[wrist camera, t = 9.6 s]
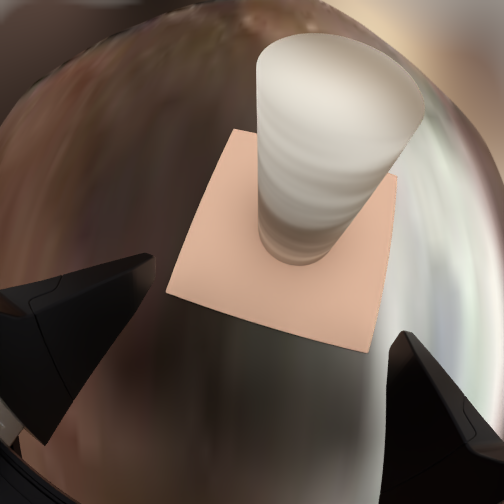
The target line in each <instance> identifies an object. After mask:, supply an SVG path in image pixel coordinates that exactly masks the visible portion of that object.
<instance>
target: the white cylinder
mask: <svg viewBox="0 0 504 504" xmlns="http://www.w3.org/2000/svg"><path fill="white" fill-rule="evenodd" d="M256 81H257V152H258V231H259V236H260V240H261V242H262V244H263V246H264V247H265V249H266V250H267V251H268V252H269V253H270V254H271V255H272V256H273V257H274V258H275V259H277V260H279V261H281V262H283V263H285V264H289V265H294V266H304V265H309V264H312V263H315V262H317V261H319V260H320V259H322V258H323V257H324V256H325V255H326V254H327V253H328V252H329V251H330V250H331V248H332V247H333V246H334V244H335V243H336V242H337V241H338V239H339V238H340V237H341V235H342V234H343V233H344V231H345V230H346V229H347V228H348V226H349V225H350V224H351V222H352V221H353V220H354V218H355V217H356V216H357V214H358V213H359V212H360V210H361V209H362V208H363V206H364V205H365V203H366V202H367V201H368V199H369V198H370V197H371V195H372V194H373V192H374V191H375V190H376V188H377V187H378V186H379V184H380V183H381V181H382V180H383V179H384V177H385V176H386V174H387V173H388V171H389V170H390V169H391V167H392V166H393V164H394V163H395V161H396V160H397V158H398V157H399V155H400V154H401V152H402V151H403V150H404V148H405V147H406V145H407V144H408V142H409V141H410V139H411V138H412V136H413V134H414V133H415V131H416V130H417V128H418V127H419V125H420V124H421V122H422V120H423V117H424V114H425V105H424V99H423V96H422V93H421V91H420V89H419V87H418V86H417V84H416V83H415V81H414V80H413V78H412V77H411V76H410V75H409V74H408V73H407V71H406V70H405V69H404V68H403V67H401V66H400V65H399V64H398V63H397V62H396V61H394V60H393V59H391V58H390V57H389V56H387V55H386V54H384V53H382V52H381V51H379V50H377V49H375V48H373V47H371V46H369V45H367V44H364V43H362V42H359V41H356V40H353V39H350V38H346V37H342V36H337V35H331V34H320V33H308V34H298V35H292V36H289V37H285V38H282V39H280V40H277V41H276V42H274V43H272V44H270V45H269V46H268V47H266V48H265V49H264V51H263V52H262V53H261V54H260V56H259V58H258V61H257V67H256Z"/></svg>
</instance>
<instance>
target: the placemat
mask: <svg viewBox="0 0 504 504" xmlns="http://www.w3.org/2000/svg"><path fill="white" fill-rule="evenodd" d="M396 188H397V176H395V175H393V174H390V173H387V174H386V176H385V177H384V179H383V180H382V181H381V183H380V184H379V186H378V187H377V188H376V190H375V191H374V192H373V194H372V195H371V197H370V198H369V199H368V201H367V202H366V203H365V205H364V206H363V208H362V209H361V210H360V212H359V213H358V214H357V216H356V217H355V218H354V220H353V221H352V222H351V224H350V225H349V226H348V228H347V229H346V230H345V231H344V233H343V234H342V235H341V237H340V238H339V239H338V241H337V242H336V243H335V244H334V246H333V247H332V248H331V250H330V251H329V252H328V253H327V254H326V255H325V256H324V257H323V258H322V259H320V260H319V261H317V262H315V263H312V264H309V265H304V266H294V265H289V264H285V263H283V262H281V261H279V260H277V259H275V258H274V257H273V256H272V255H271V254H270V253H269V252H268V251H267V250H266V249H265V247H264V246H263V244H262V242H261V240H260V236H259V231H258V152H257V134H256V133H251V132H247V131H242V130H237V129H234V130H233V132H232V134H231V136H230V138H229V140H228V142H227V144H226V146H225V148H224V151H223V153H222V155H221V157H220V159H219V161H218V164H217V166H216V168H215V170H214V173H213V175H212V177H211V179H210V182H209V184H208V186H207V188H206V191H205V193H204V195H203V198H202V200H201V202H200V205H199V207H198V210H197V212H196V214H195V217H194V219H193V222H192V224H191V227H190V229H189V232H188V234H187V237H186V239H185V242H184V244H183V247H182V249H181V252H180V255H179V257H178V260H177V262H176V265H175V268H174V270H173V273H172V276H171V279H170V281H169V284H168V287H167V290H166V293H168V294H171V295H174V296H176V297H179V298H182V299H185V300H188V301H190V302H193V303H196V304H199V305H202V306H205V307H208V308H211V309H213V310H216V311H219V312H222V313H225V314H228V315H232V316H235V317H238V318H241V319H244V320H247V321H250V322H254V323H257V324H260V325H263V326H267V327H270V328H273V329H277V330H280V331H284V332H287V333H291V334H294V335H298V336H301V337H305V338H308V339H312V340H316V341H320V342H323V343H327V344H331V345H335V346H339V347H343V348H347V349H351V350H355V351H360V352H364V353H368V351H369V348H370V344H371V340H372V336H373V332H374V328H375V324H376V320H377V316H378V311H379V307H380V302H381V297H382V292H383V287H384V282H385V276H386V271H387V265H388V258H389V252H390V245H391V238H392V230H393V221H394V212H395V201H396Z"/></svg>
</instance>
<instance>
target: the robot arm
mask: <svg viewBox="0 0 504 504" xmlns="http://www.w3.org/2000/svg"><path fill="white" fill-rule="evenodd" d="M155 266H156V259H155V257H154V256H153V255H150V254H147V253H142V254H138V255H134V256H130V257H126V258H122V259H119V260H115V261H111V262H108V263H104V264H100V265H96V266H93V267H89V268H86V269H82V270H78V271H75V272H71V273H68V274H64V275H63V276H62V275H60V276H57V277H53V278H50V279H46V280H42V281H38V282H34V283H29V284H25V285H20V286H15V287H11V288H6V289H1V290H0V504H81V503H79V502H78V501H76V500H75V499H73V498H72V497H70V496H69V495H67V494H66V493H64V492H63V491H61V490H60V489H59V488H57V487H56V486H55V485H53V484H52V483H51V482H49V481H48V480H47V479H46V478H44V477H43V476H42V475H40V474H39V473H38V472H37V471H36V470H34V469H33V468H32V467H31V466H30V465H29V464H27V463H26V462H25V461H24V460H23V459H22V455H21V449H20V443H19V436H18V435H19V434H20V432H21V431H22V430H23V428H24V429H25V430H26V431H27V432H28V433H30V434H31V435H32V436H33V437H34V438H35V439H37V440H38V441H39V442H40V443H42V444H43V445H44V446H45V445H46V444H47V443H48V441H49V440H50V438H51V436H52V435H53V433H54V431H55V430H56V428H57V426H58V425H59V423H60V422H61V420H62V418H63V417H64V415H65V414H66V412H67V410H68V409H69V407H70V406H71V404H72V403H73V400H74V399H75V398H76V396H77V395H78V393H79V392H80V390H81V389H82V387H83V386H84V384H85V383H86V381H87V380H88V378H89V377H90V375H91V374H92V372H93V371H94V369H95V368H96V367H97V365H98V364H99V362H100V361H101V359H102V358H103V356H104V355H105V354H106V352H107V351H108V349H109V348H110V347H111V345H112V344H113V342H114V341H115V340H116V338H117V337H118V335H119V334H120V333H121V331H122V330H123V329H124V327H125V326H126V324H127V323H128V322H129V320H130V319H131V318H132V316H133V315H134V313H135V312H136V310H137V309H138V307H139V305H140V304H141V302H142V300H143V298H144V297H145V295H146V293H147V292H148V290H149V288H150V287H151V285H152V283H153V282H154V279H155ZM379 504H504V442H503V441H502V440H501V438H500V437H499V436H498V435H497V434H496V432H495V431H494V430H493V429H492V428H491V427H490V425H489V424H488V423H487V422H486V421H485V420H484V418H483V417H482V416H481V415H480V414H479V413H478V411H477V410H476V409H475V408H474V406H473V405H472V404H471V403H470V401H469V400H468V399H467V397H466V396H464V394H463V392H462V391H461V390H460V389H459V387H458V386H457V385H456V384H455V382H454V381H453V380H452V379H451V377H450V376H449V375H448V374H447V373H446V371H445V370H444V369H443V368H442V366H441V365H440V364H439V363H438V362H437V361H436V359H435V358H434V357H433V356H432V355H431V353H430V352H429V351H428V350H427V349H426V348H425V346H424V345H423V344H422V343H421V342H420V341H419V340H418V338H417V337H416V336H415V335H414V334H413V333H412V332H408V331H401V332H400V333H399V335H398V336H397V338H396V339H395V341H394V342H393V344H392V345H391V347H390V350H389V359H388V373H387V385H386V433H385V450H384V463H383V474H382V483H381V491H380V497H379Z"/></svg>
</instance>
